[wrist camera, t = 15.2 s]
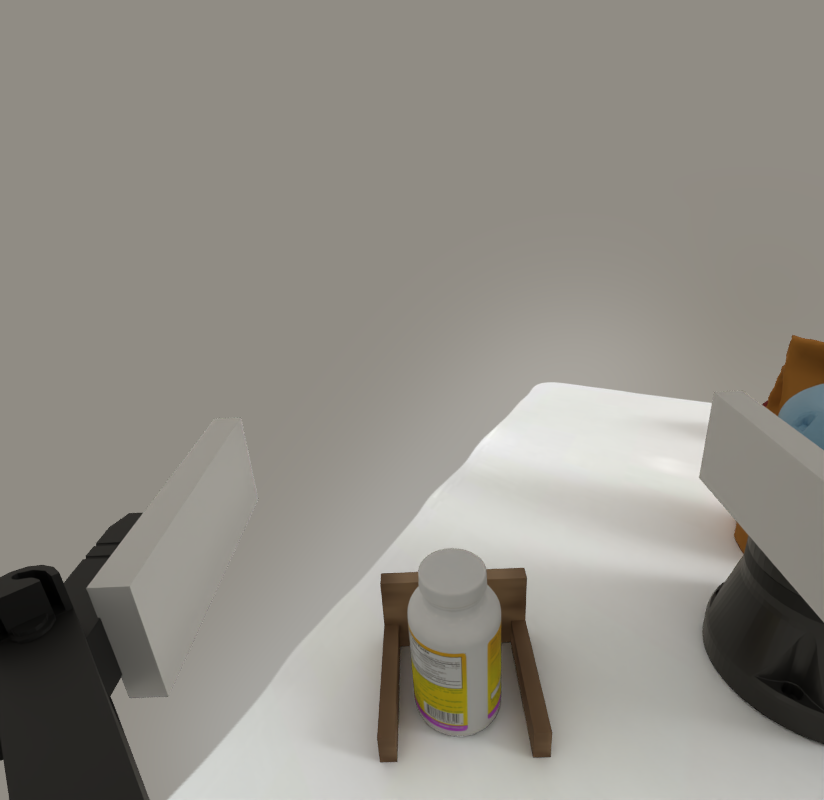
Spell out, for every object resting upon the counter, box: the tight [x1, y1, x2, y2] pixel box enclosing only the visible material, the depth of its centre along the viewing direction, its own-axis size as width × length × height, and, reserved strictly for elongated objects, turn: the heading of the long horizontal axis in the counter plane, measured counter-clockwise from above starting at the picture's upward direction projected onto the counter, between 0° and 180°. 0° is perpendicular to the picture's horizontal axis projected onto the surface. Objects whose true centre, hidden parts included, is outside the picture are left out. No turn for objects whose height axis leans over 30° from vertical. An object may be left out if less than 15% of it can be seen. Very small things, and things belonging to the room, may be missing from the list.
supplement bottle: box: [407, 548, 501, 736], centre depth 40 cm, size 7×7×13 cm
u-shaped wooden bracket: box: [377, 568, 552, 762], centre depth 42 cm, size 12×11×7 cm
